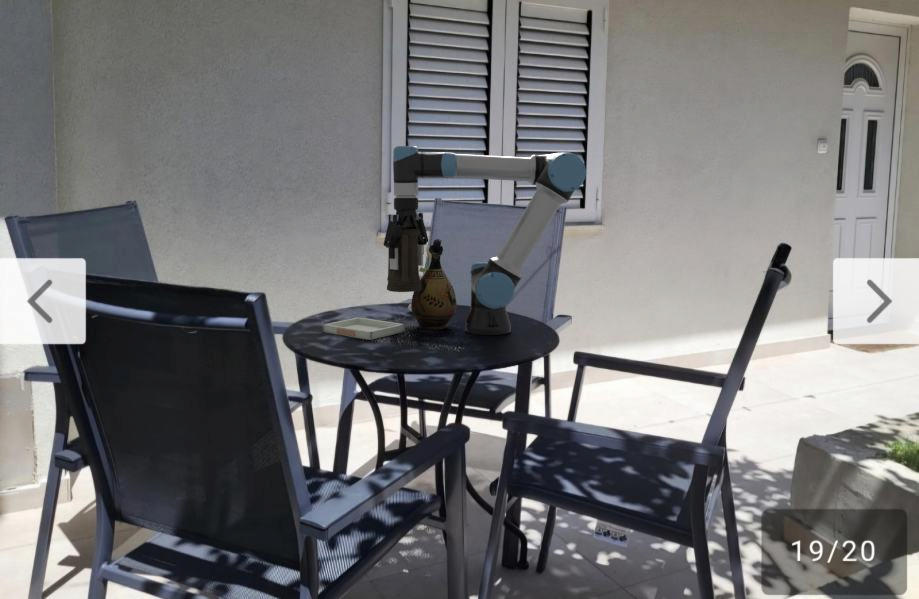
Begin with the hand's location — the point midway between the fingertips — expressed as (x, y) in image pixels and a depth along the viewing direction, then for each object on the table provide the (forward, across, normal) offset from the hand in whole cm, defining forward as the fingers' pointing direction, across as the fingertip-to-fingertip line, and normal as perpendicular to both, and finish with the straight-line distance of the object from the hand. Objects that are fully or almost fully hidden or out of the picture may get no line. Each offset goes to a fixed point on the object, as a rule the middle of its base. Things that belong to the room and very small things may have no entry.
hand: (406, 267), depth 264 cm
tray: (+23, -2, -20) cm, 31 cm away
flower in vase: (+23, -44, -28) cm, 57 cm away
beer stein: (+7, +1, 0) cm, 8 cm away
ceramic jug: (+23, -23, -7) cm, 34 cm away
